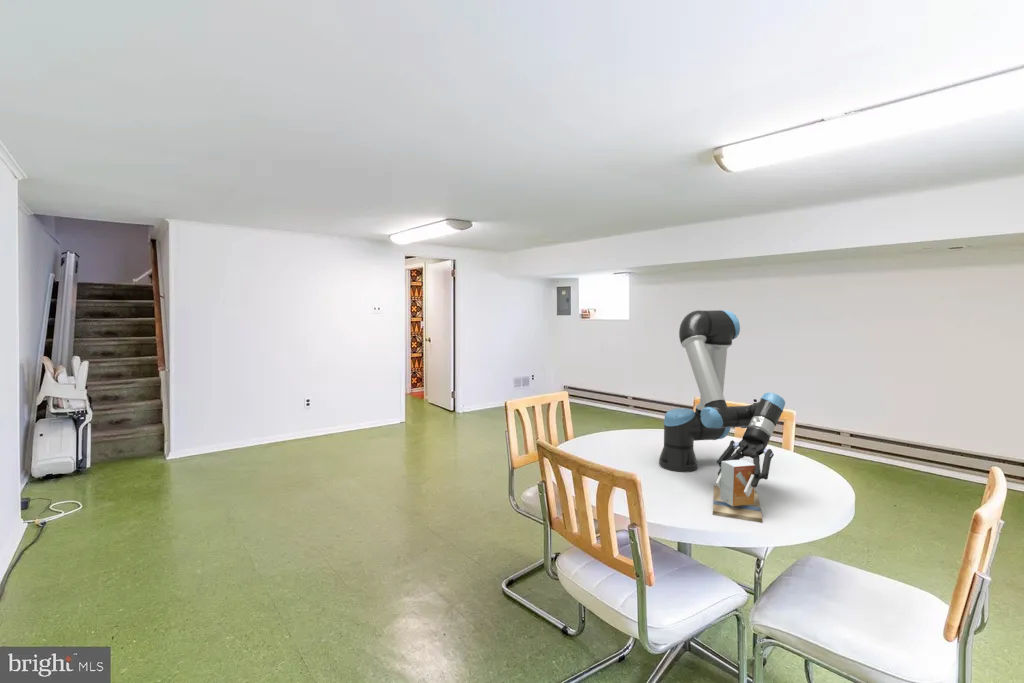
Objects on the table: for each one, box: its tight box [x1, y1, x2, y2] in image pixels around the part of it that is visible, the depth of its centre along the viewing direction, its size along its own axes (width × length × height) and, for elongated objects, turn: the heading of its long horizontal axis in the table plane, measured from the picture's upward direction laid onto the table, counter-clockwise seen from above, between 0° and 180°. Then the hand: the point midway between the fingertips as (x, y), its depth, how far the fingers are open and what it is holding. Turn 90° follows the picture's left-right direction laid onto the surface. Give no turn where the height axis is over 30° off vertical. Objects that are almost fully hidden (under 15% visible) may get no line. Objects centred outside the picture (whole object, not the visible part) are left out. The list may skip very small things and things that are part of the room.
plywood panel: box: [712, 485, 764, 523], centre depth 159 cm, size 14×24×1 cm, turn 156°
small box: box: [720, 458, 755, 506], centre depth 154 cm, size 8×6×13 cm
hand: (731, 489), depth 152 cm, fingers closed on small box, 9 cm apart
